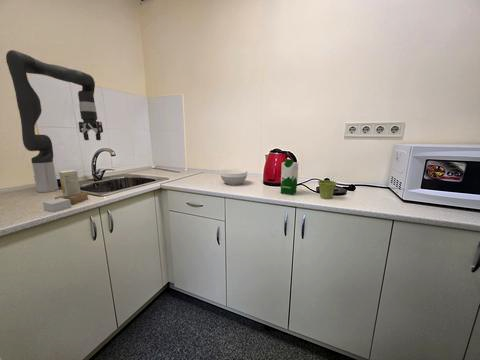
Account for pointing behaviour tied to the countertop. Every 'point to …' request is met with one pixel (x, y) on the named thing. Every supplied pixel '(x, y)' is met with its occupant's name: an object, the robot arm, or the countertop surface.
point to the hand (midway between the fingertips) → (92, 140)
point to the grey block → (57, 204)
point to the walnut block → (75, 198)
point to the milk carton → (289, 177)
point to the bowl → (233, 176)
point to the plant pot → (326, 188)
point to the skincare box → (69, 182)
